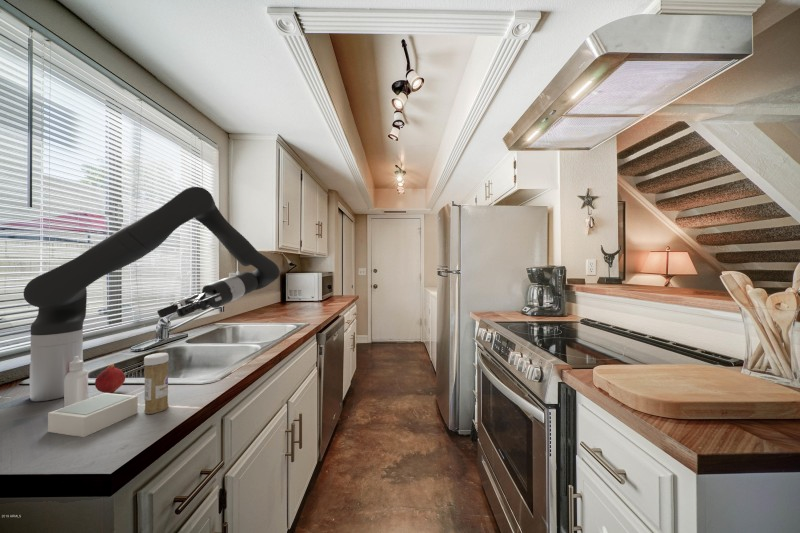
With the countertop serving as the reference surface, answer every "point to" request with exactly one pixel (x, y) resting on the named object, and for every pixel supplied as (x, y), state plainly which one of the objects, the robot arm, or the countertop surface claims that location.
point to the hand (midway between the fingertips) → (168, 313)
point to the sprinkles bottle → (156, 382)
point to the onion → (109, 380)
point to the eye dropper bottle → (75, 383)
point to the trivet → (92, 414)
